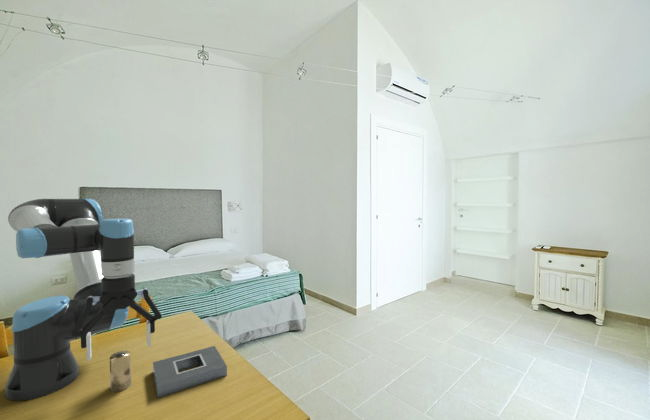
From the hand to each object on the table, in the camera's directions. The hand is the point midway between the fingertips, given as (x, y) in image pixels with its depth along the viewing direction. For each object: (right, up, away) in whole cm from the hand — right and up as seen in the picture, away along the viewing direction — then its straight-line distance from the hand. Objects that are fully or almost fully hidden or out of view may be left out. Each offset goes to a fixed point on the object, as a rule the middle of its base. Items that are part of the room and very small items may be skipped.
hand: (120, 351), depth 83 cm
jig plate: (+16, -10, +7) cm, 20 cm away
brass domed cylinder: (0, -10, +1) cm, 10 cm away
